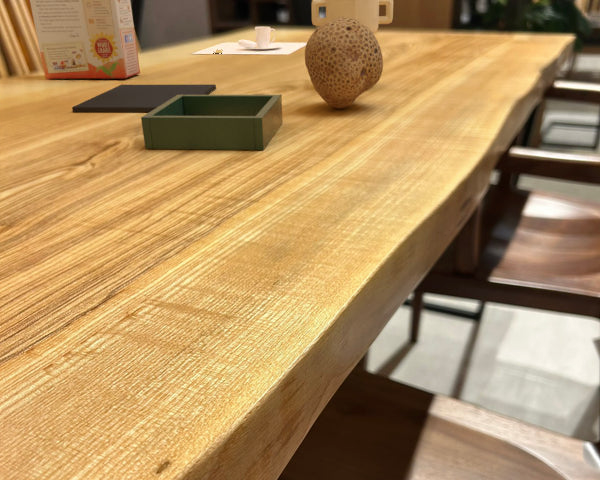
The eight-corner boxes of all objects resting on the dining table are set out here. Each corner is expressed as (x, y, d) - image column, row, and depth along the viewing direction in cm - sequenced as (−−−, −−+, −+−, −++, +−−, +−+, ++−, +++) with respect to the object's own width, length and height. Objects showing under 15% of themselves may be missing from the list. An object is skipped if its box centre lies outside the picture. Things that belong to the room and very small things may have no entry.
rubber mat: (72, 112, 78) (71, 107, 78) (121, 88, 92) (121, 84, 92) (183, 112, 76) (183, 107, 76) (216, 88, 90) (215, 84, 90)
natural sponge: (351, 97, 82) (352, 12, 77) (397, 108, 75) (402, 16, 71) (292, 107, 78) (289, 17, 73) (335, 119, 71) (336, 21, 66)
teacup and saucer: (234, 51, 128) (233, 29, 126) (246, 46, 135) (245, 25, 133) (277, 51, 126) (276, 29, 125) (286, 46, 133) (286, 25, 131)
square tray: (145, 149, 61) (140, 117, 60) (180, 122, 72) (177, 94, 70) (263, 150, 60) (262, 117, 59) (282, 122, 70) (281, 94, 69)
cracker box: (142, 74, 104) (122, -75, 94) (126, 80, 99) (103, -77, 89) (63, 73, 107) (36, -71, 97) (44, 79, 101) (13, -73, 92)
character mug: (386, 80, 93) (389, -19, 87) (394, 89, 87) (398, -18, 81) (311, 83, 93) (310, -17, 87) (314, 91, 86) (312, -16, 80)
